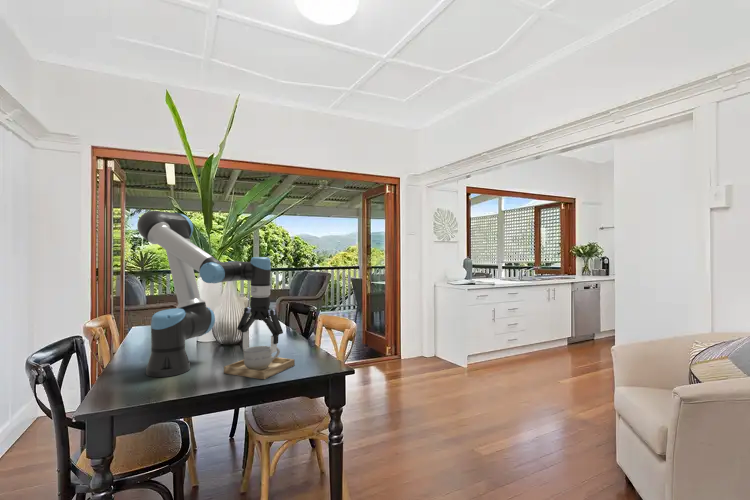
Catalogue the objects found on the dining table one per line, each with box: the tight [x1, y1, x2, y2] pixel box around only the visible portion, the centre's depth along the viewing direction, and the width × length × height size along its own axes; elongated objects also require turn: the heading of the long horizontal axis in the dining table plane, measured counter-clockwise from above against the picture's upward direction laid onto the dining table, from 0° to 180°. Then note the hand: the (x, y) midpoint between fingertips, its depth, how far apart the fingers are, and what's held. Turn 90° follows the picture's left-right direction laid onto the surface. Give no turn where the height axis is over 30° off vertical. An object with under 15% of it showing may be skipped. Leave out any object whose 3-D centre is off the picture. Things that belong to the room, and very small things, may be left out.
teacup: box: [242, 345, 281, 370], centre depth 158 cm, size 14×11×8 cm
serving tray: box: [223, 356, 296, 380], centre depth 158 cm, size 19×19×2 cm
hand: (259, 350), depth 158 cm, fingers open, 13 cm apart
